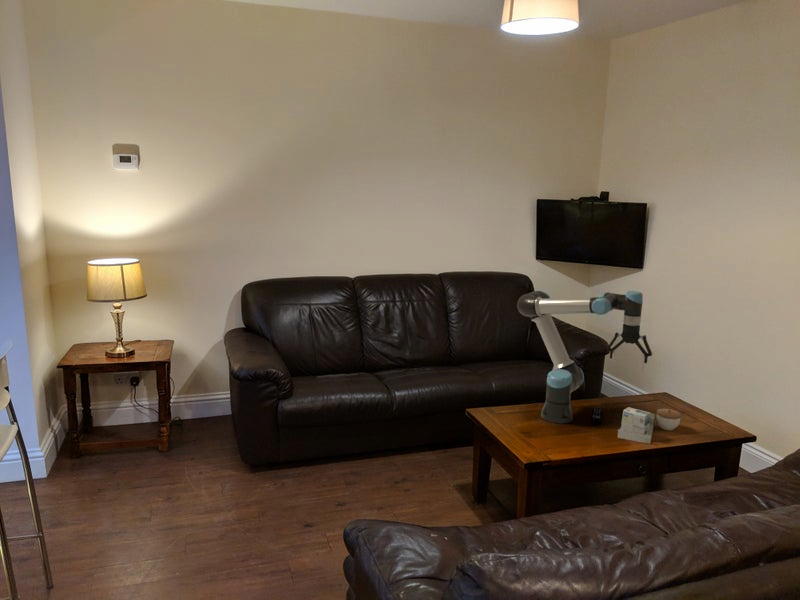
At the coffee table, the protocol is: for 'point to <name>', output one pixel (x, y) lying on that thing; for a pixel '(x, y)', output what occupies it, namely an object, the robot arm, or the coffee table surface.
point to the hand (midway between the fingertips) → (627, 367)
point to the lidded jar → (668, 418)
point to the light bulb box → (636, 420)
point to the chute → (636, 435)
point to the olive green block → (650, 418)
